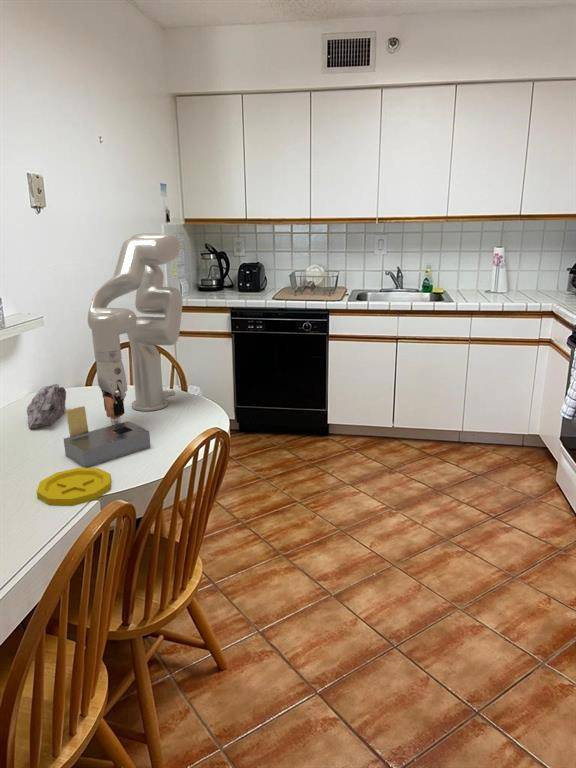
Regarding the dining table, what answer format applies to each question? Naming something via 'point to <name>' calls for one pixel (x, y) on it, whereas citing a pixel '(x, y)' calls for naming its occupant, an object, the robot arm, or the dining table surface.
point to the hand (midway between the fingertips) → (114, 411)
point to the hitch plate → (106, 443)
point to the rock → (46, 406)
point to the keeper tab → (77, 421)
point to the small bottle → (111, 409)
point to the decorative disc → (74, 486)
